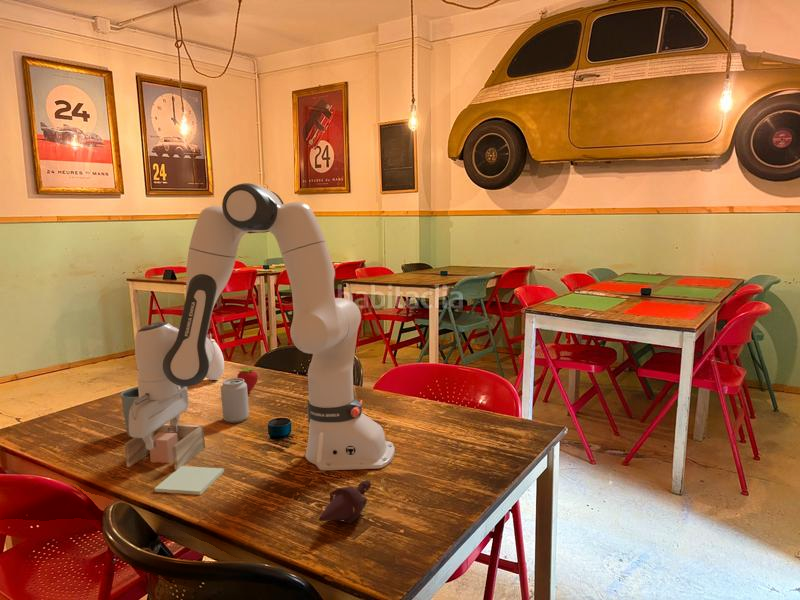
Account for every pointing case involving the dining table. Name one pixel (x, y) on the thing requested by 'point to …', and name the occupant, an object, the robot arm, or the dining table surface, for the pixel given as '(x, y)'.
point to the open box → (182, 451)
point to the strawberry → (248, 378)
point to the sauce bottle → (216, 363)
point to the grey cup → (128, 403)
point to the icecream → (346, 503)
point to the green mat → (189, 480)
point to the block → (163, 447)
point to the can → (234, 400)
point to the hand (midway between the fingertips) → (162, 440)
